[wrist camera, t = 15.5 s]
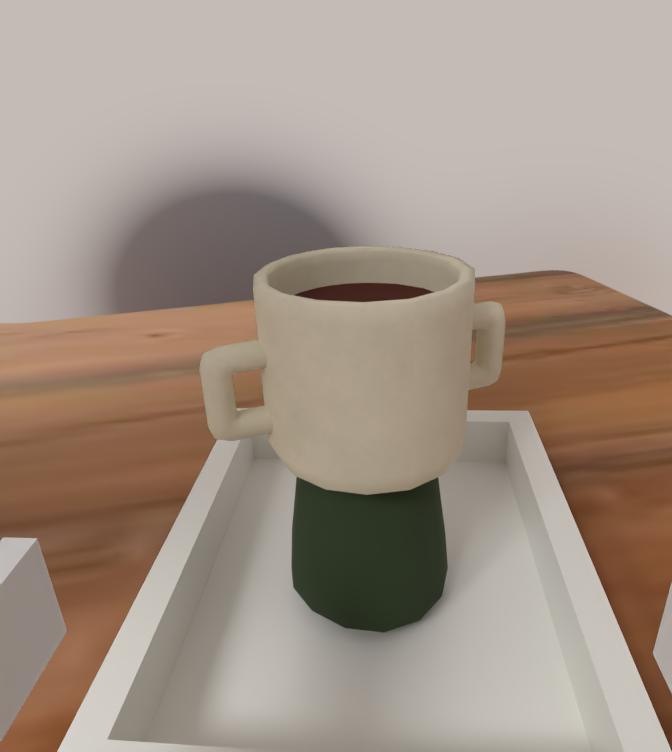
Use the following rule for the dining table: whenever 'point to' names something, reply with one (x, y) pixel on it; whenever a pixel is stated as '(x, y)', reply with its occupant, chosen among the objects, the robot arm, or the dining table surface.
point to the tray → (370, 648)
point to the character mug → (362, 416)
